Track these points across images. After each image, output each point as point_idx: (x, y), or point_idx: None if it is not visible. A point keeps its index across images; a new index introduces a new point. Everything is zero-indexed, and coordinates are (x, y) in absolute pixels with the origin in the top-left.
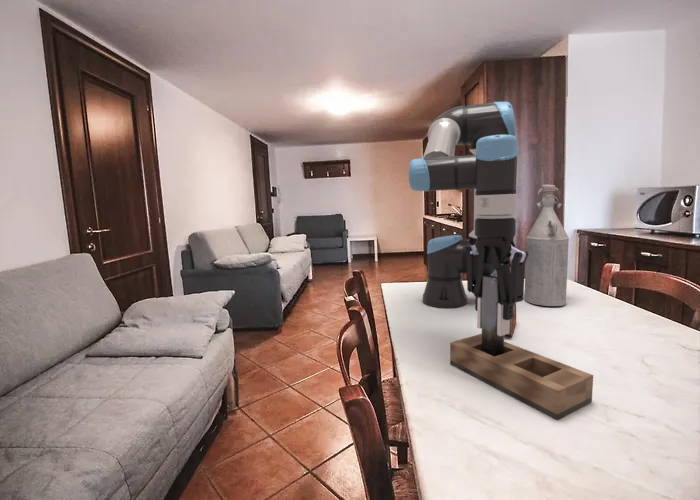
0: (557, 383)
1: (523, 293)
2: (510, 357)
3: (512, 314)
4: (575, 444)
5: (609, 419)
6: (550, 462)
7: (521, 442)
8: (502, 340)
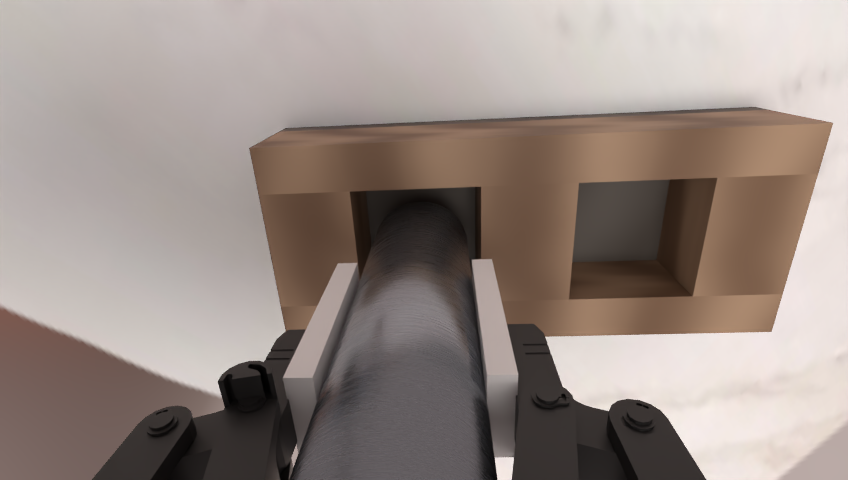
0: (749, 293)
1: (694, 461)
2: (523, 259)
3: (546, 346)
4: (784, 327)
5: (823, 157)
6: (764, 409)
7: (694, 407)
8: (470, 268)
